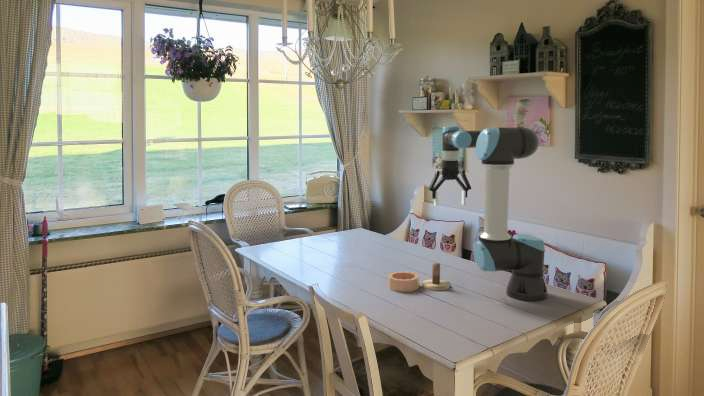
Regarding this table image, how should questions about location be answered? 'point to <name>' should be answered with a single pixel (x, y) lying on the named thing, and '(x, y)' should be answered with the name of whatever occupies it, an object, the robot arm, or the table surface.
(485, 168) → the robot arm
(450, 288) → the mat
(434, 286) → the lid
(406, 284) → the bowl
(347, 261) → the table surface
